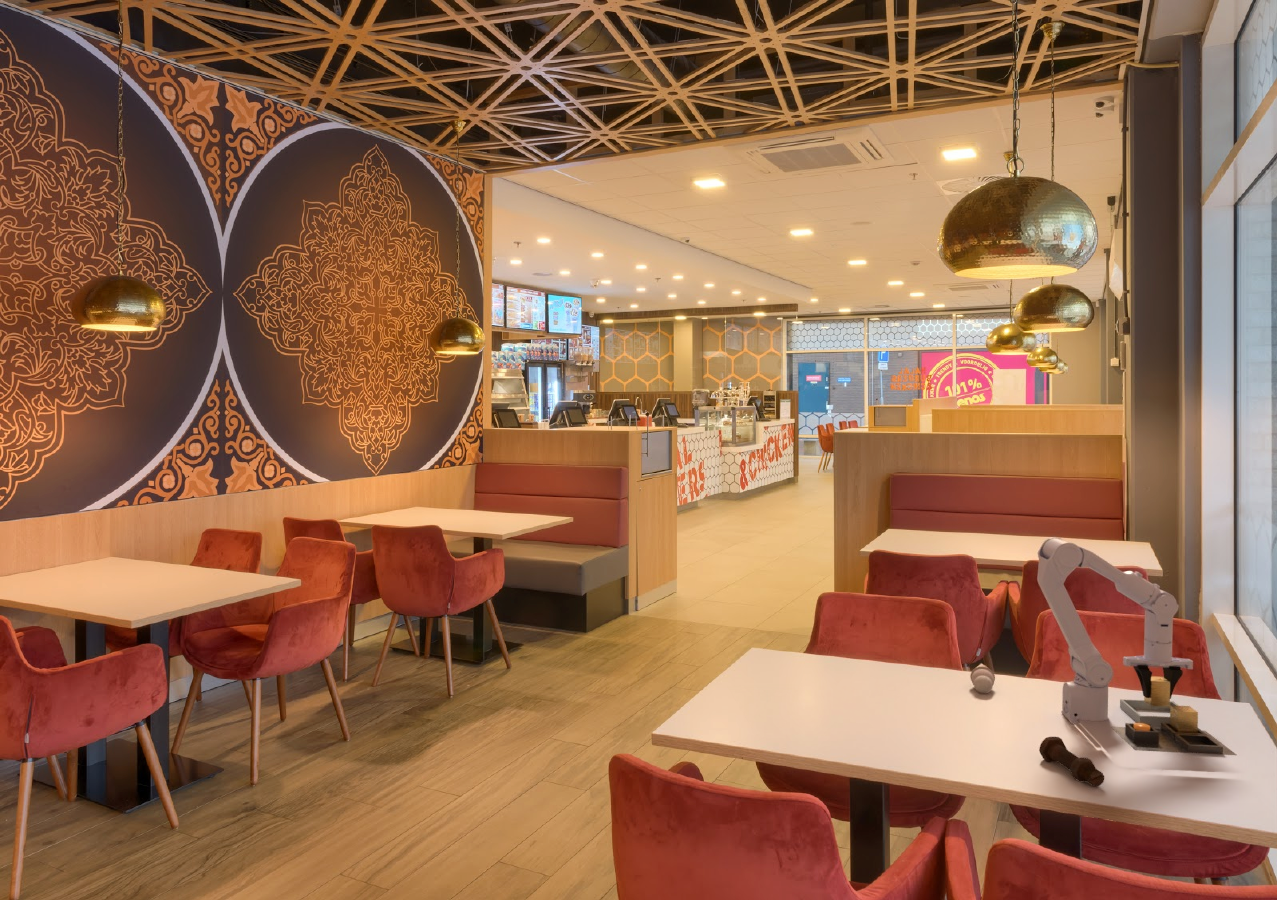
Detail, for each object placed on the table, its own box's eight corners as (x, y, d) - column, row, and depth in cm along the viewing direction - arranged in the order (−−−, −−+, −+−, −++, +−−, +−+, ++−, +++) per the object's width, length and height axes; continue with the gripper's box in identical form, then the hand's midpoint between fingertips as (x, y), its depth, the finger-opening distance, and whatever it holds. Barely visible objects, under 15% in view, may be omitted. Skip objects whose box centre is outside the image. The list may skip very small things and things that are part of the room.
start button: (1136, 738, 193) (1137, 727, 193) (1131, 733, 196) (1131, 722, 196) (1152, 739, 192) (1152, 728, 192) (1146, 734, 195) (1146, 723, 195)
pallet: (1134, 754, 188) (1135, 738, 188) (1110, 730, 202) (1110, 715, 201) (1236, 759, 185) (1237, 743, 184) (1205, 734, 198) (1205, 719, 198)
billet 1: (1151, 706, 206) (1151, 681, 205) (1144, 700, 210) (1144, 676, 209) (1169, 707, 205) (1170, 681, 205) (1162, 701, 209) (1162, 676, 209)
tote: (1139, 728, 202) (1140, 716, 202) (1119, 711, 214) (1120, 699, 214) (1196, 731, 201) (1196, 718, 200) (1172, 713, 212) (1173, 701, 212)
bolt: (1094, 798, 171) (1046, 765, 186) (1114, 784, 172) (1065, 752, 187) (1081, 774, 170) (1035, 743, 185) (1102, 760, 171) (1054, 730, 186)
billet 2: (1177, 737, 194) (1178, 711, 194) (1169, 731, 198) (1170, 705, 198) (1197, 738, 194) (1197, 712, 193) (1189, 732, 198) (1189, 706, 197)
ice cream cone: (982, 677, 241) (985, 703, 227) (964, 663, 242) (965, 688, 228) (998, 663, 239) (1001, 688, 225) (979, 648, 240) (982, 673, 226)
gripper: (1131, 643, 204) (1130, 701, 204) (1199, 646, 201) (1198, 704, 202) (1120, 635, 211) (1119, 691, 211) (1185, 638, 208) (1184, 694, 209)
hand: (1156, 697), depth 207 cm, fingers closed on billet 1, 4 cm apart
